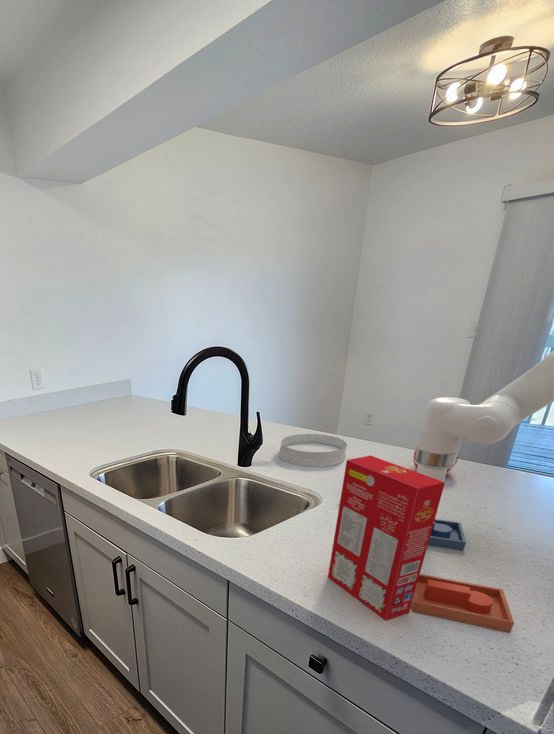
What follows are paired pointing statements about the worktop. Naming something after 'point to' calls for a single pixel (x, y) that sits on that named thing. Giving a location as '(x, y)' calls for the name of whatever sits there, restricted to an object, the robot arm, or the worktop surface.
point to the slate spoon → (441, 530)
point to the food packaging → (383, 533)
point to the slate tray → (455, 538)
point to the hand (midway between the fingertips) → (416, 529)
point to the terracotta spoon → (458, 596)
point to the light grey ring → (313, 450)
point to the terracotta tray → (494, 619)
